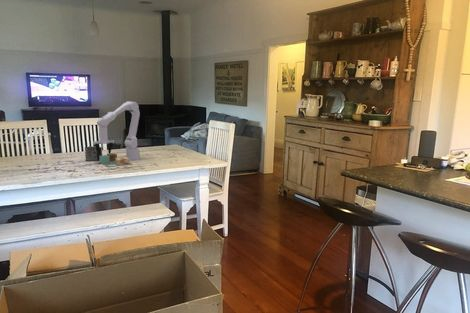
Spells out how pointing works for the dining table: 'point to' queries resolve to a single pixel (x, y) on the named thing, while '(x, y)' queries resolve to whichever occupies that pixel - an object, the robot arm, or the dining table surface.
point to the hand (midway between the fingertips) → (104, 153)
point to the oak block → (121, 161)
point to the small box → (92, 153)
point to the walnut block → (112, 156)
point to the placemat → (115, 164)
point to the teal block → (104, 159)
